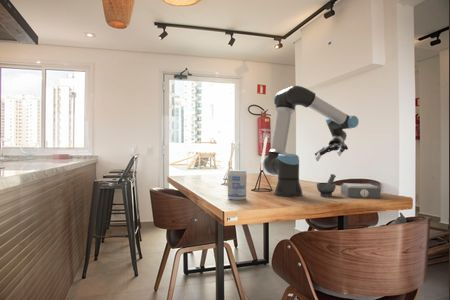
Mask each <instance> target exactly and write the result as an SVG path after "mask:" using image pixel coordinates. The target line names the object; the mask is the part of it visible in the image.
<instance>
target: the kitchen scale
mask: <svg viewBox="0 0 450 300" xmlns="http://www.w3.org/2000/svg"><path fill="white" fill-rule="evenodd" d="M340 194H341V195H343V196H345V197H346V198H354V199H355V198H360V199H361V198H363V199H364V198H366V199H381V188H380V187H378V186H377V185H374V184H371V183H354V182H353V183H350V182H349V183H348V182H346V183H345V182H344V183H342V184H340Z"/></svg>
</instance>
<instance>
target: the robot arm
mask: <svg viewBox="0 0 450 300" xmlns="http://www.w3.org/2000/svg"><path fill="white" fill-rule="evenodd" d="M273 103H274V105H275V110H276V112H277V114H276V119H275V125H274V131H273V137H272V143H271V148H270V149H269V150H268V153H267V156H266V157H265V158H264V159H263V162H262V164H263V165H262V166H263V168H264V170H265V171H266V172H267V173H268V174H271V175H272V176H273V175H274V176H277V182H276V183H277V184H276V187H275V189H274V195H275V196H280V197H301V196H303V190H302V186H301V184H300V157H299V155H297V154H295V153H287V152H286V149H287V143H288V137H289V131H290V126H291V125H290V124H291V119H292V118H291V117H292V114H294V112H295V109H296V106H302V107H305V108H309V109H311V110H313V111H315V112H317V113H318V114H320V115H322V116H324V117H325V121H326V125H327V126H328V129H329V132H330V135H331V136H332V138H331V139H330V140H329V143H328V146H323V147H322V148H320V149H319V150H317V151H316V152H315V153H314V155H315V160H316V162H319V161H320V159H321V158H322V156H323V155H325V154H327V153H331V152H333V151H336V152H337V155H338V156H339V157H341V156H342V154H343V153H344V152H345V151H347V150H349V148H348V146H347V144H345V141H346V140H347V135H348V134H347V133H346V131H345V130H346V129H350V130H351V129H355V128H357V126H358V125H359V123H360V122H359V118H358V116H356V115H349V114H346V113H345V112H343V111H342V110H340V109H338V108H337V107H335V106H333V105H331V104H330V103H328V102H327V101H325V100H324V99H322V98H320V97H318V96H316V93H315V92H314V91H312V90H310V89H308V88H306V87H303V86H302V85H301V86H300V85H292V86H290V87H286V88H284V89H281V90H279V91H278V92H277V93H276V94H275V96H274V98H273Z"/></svg>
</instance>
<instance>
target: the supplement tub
mask: <svg viewBox="0 0 450 300" xmlns="http://www.w3.org/2000/svg"><path fill="white" fill-rule="evenodd" d="M227 175H228V176H227V198H228V199H229V200H232V201H242V200H246V199H247V170H244V169H243V170H242V169H229V170H228V173H227Z"/></svg>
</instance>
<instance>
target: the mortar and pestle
mask: <svg viewBox="0 0 450 300" xmlns="http://www.w3.org/2000/svg"><path fill="white" fill-rule="evenodd" d="M335 178H336V174H334V173H330V176H329V178H328V181H327V182H317V183H316V188H317V191H318V192H319V193H320V194H319V196H320V197H324V198H325V197H326V198H328V197H329V198H330V197H333V193H334V192H335V189H336V188H337V187H336V183H334V180H335Z"/></svg>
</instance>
